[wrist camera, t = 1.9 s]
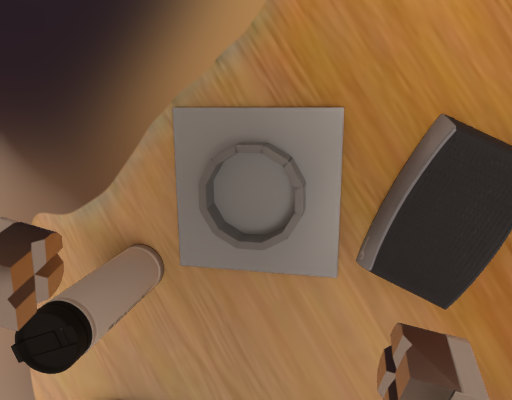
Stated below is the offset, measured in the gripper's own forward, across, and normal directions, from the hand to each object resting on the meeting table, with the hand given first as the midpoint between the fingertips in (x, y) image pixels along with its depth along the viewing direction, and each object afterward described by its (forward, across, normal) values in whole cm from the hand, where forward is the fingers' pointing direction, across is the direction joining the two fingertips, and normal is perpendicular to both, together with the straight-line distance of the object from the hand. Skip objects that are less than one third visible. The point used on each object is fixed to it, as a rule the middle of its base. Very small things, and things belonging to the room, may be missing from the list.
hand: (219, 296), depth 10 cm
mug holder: (+39, -4, -17) cm, 42 cm away
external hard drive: (+39, +18, -14) cm, 45 cm away
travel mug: (+37, -17, -31) cm, 51 cm away
